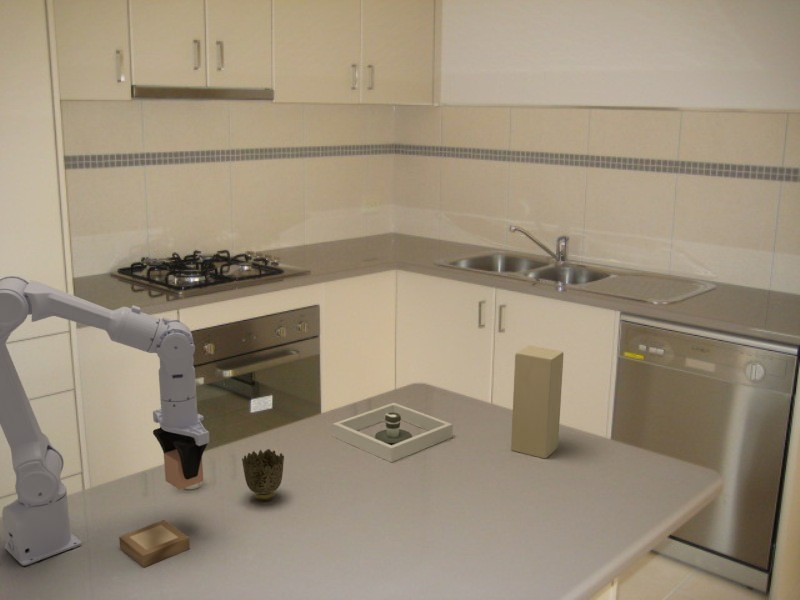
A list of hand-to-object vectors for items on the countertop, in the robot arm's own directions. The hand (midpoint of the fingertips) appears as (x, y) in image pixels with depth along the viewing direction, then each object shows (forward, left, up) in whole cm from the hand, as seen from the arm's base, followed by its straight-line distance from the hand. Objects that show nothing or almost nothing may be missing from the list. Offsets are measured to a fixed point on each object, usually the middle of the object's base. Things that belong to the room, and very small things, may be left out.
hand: (183, 472), depth 142 cm
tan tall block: (+69, -22, -10) cm, 73 cm away
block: (0, 0, -2) cm, 2 cm away
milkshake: (+9, +13, -10) cm, 19 cm away
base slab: (-7, -3, -10) cm, 13 cm away
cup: (+16, -1, -10) cm, 18 cm away
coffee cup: (+52, +3, -10) cm, 53 cm away
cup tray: (+52, +3, -10) cm, 53 cm away
